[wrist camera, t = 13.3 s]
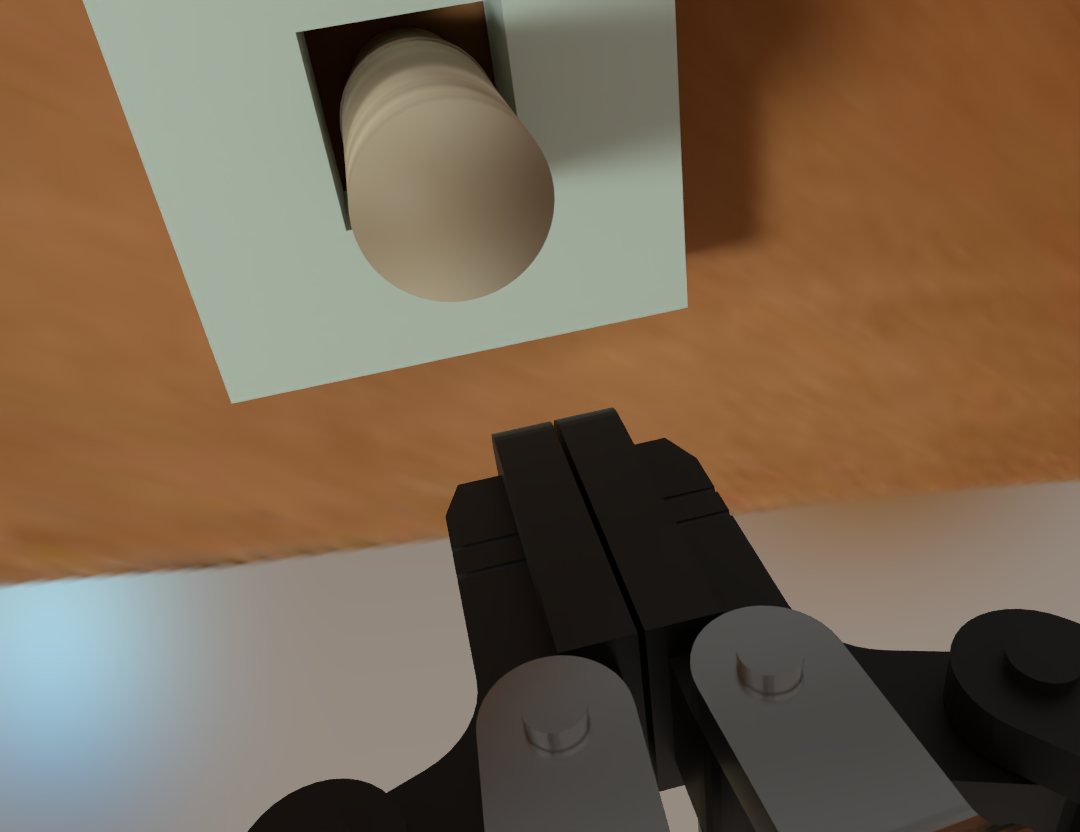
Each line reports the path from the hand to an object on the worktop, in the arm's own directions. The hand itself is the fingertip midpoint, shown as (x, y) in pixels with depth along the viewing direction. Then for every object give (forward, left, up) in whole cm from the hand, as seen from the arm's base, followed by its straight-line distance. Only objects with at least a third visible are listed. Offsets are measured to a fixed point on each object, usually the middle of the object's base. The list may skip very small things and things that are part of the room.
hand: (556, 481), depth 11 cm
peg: (0, 0, -23) cm, 23 cm away
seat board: (0, 0, -23) cm, 23 cm away
